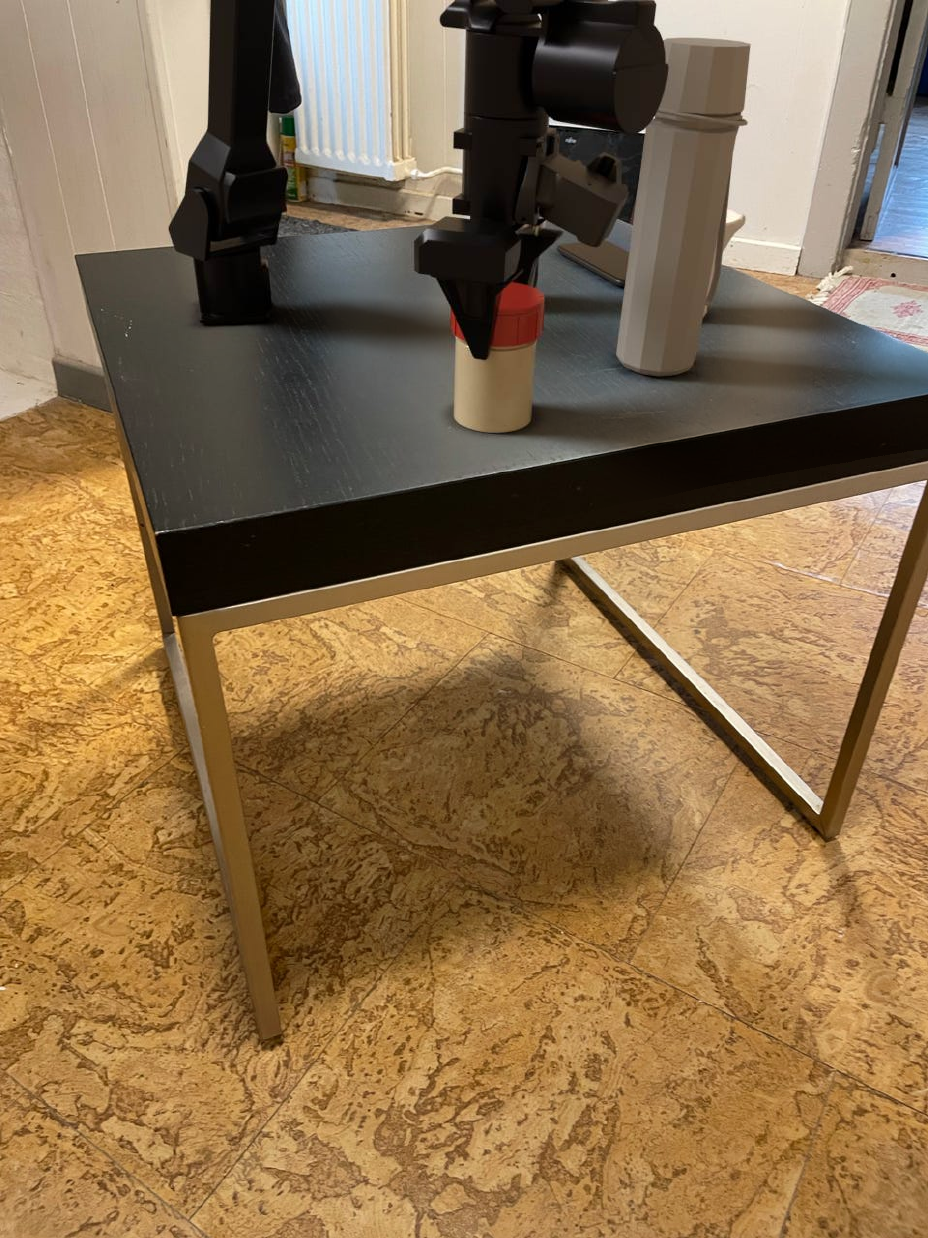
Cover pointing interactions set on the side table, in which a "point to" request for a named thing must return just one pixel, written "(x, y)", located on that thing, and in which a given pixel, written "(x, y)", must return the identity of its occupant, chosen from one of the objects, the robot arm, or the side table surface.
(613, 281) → the smartphone
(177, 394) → the side table surface
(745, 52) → the water bottle
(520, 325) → the jar lid
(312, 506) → the side table surface
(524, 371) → the jar
